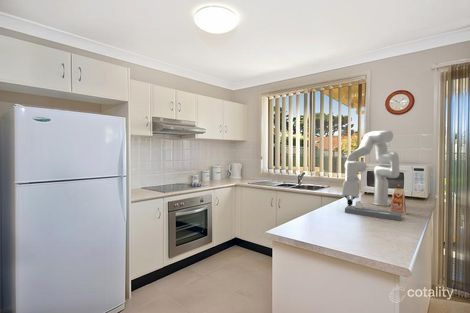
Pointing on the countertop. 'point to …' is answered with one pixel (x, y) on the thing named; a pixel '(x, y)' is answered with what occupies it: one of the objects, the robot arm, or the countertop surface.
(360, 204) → the fader
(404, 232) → the countertop surface
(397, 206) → the milk carton
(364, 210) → the bar
